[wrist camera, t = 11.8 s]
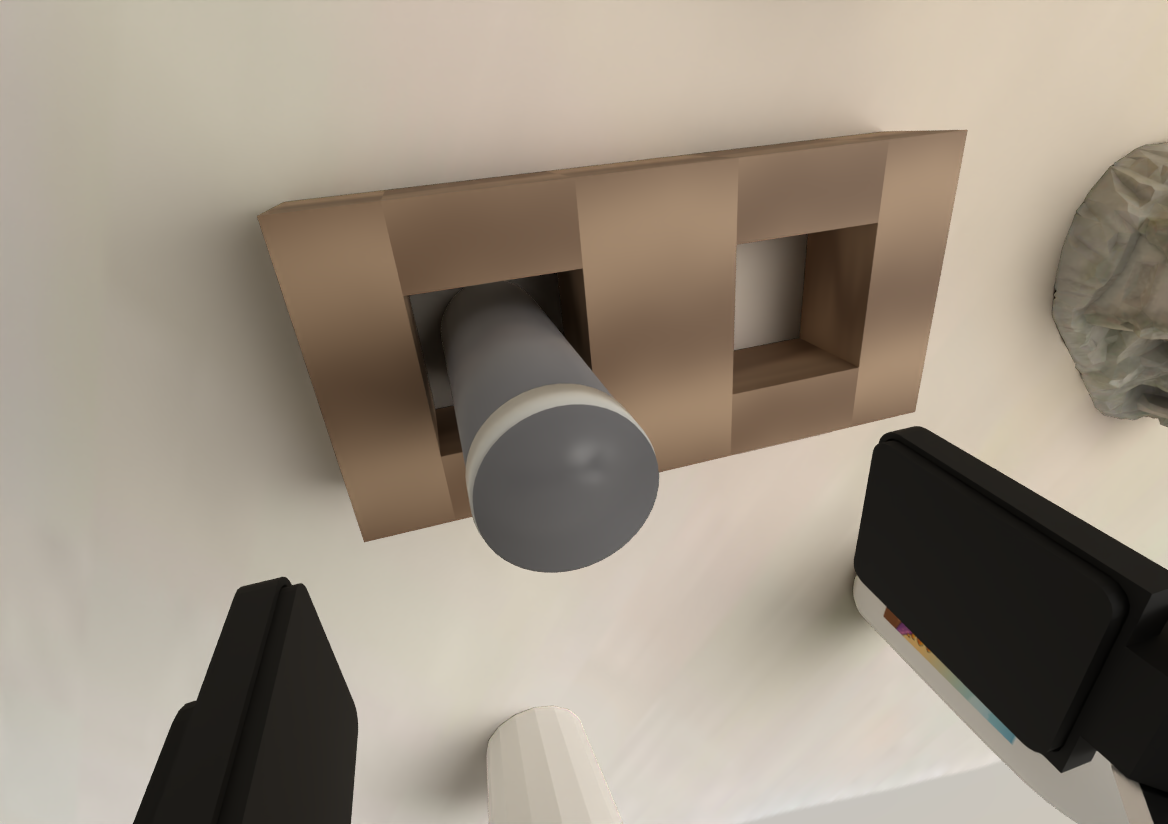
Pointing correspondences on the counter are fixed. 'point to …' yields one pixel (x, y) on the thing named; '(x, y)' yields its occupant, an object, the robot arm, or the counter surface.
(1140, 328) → the gray stone sculpture
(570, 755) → the shot glass
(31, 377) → the counter surface
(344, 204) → the socket block
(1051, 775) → the milk bottle
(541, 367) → the grey rounded cylinder
